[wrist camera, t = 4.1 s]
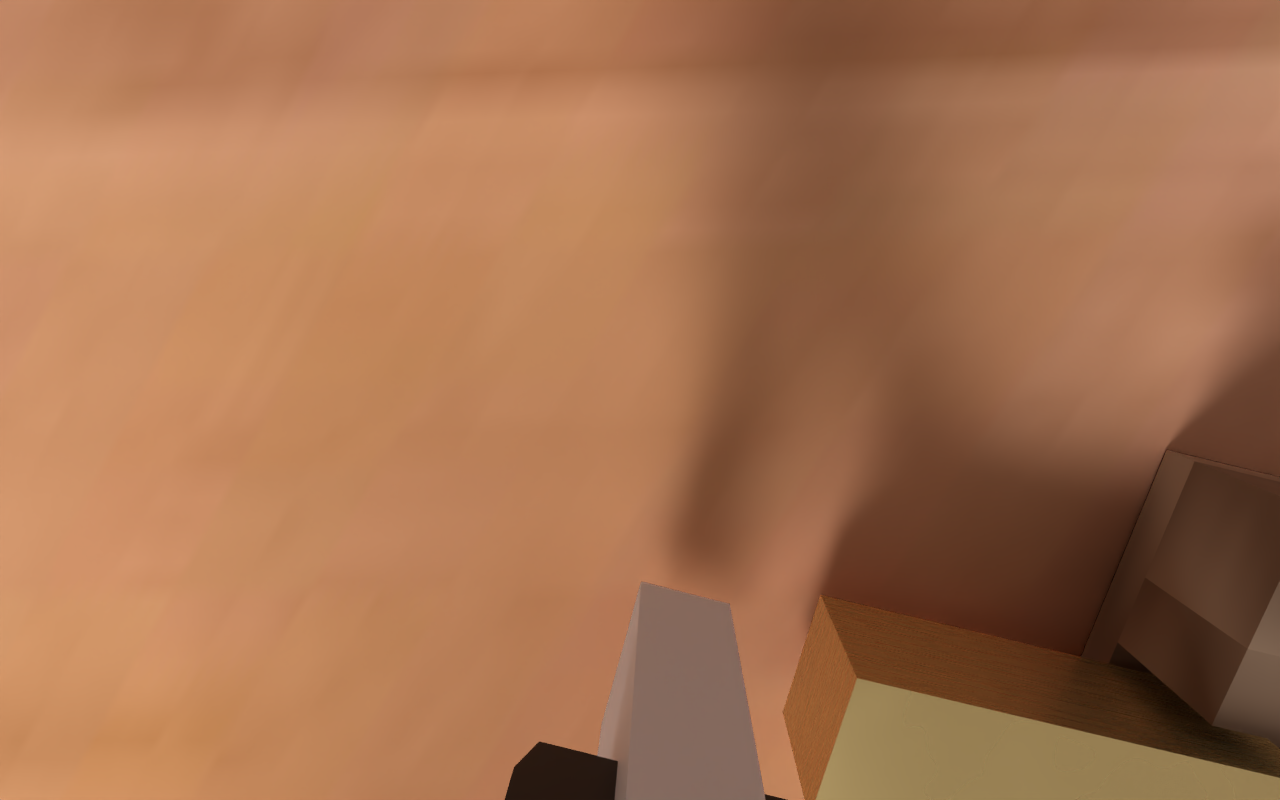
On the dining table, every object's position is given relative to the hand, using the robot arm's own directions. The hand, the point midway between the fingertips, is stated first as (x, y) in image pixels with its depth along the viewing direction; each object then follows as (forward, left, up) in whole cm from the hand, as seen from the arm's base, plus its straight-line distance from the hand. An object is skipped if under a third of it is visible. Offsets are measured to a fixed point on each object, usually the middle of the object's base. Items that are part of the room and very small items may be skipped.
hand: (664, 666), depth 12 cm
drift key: (0, +6, -2) cm, 6 cm away
